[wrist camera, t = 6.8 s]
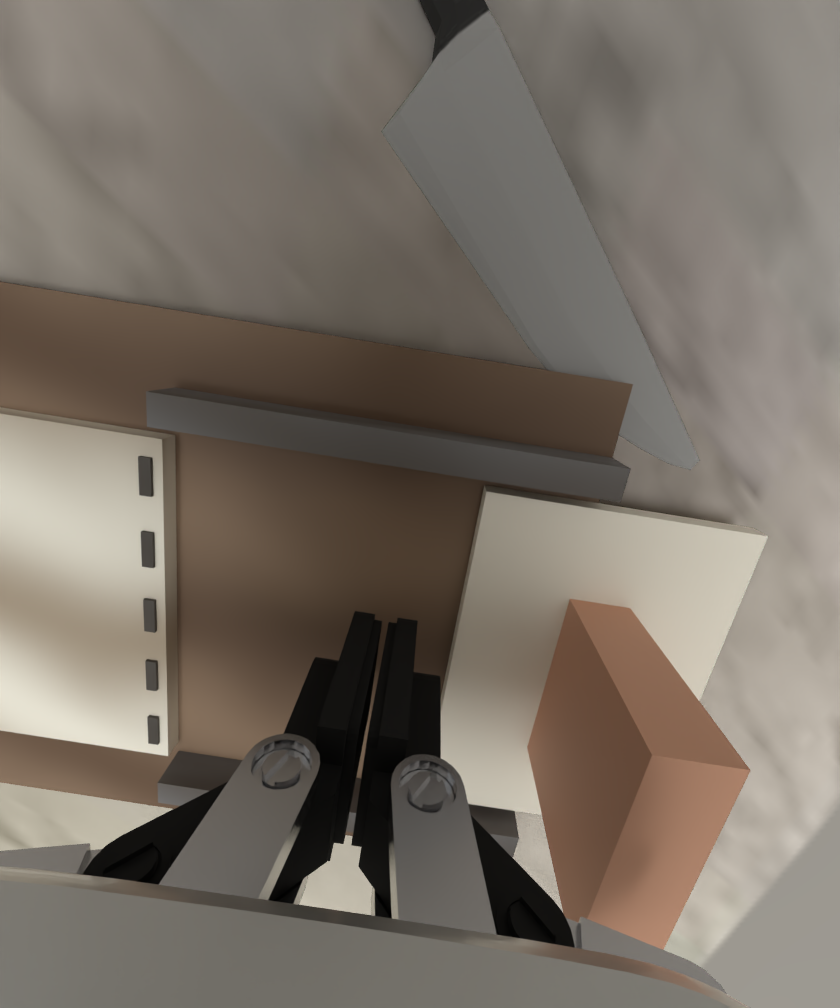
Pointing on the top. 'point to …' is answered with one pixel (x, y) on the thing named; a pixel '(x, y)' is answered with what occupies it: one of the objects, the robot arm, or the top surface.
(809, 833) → the top surface
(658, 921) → the ticket stub
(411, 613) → the ticket board
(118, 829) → the top surface
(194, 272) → the top surface
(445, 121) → the chef's knife
